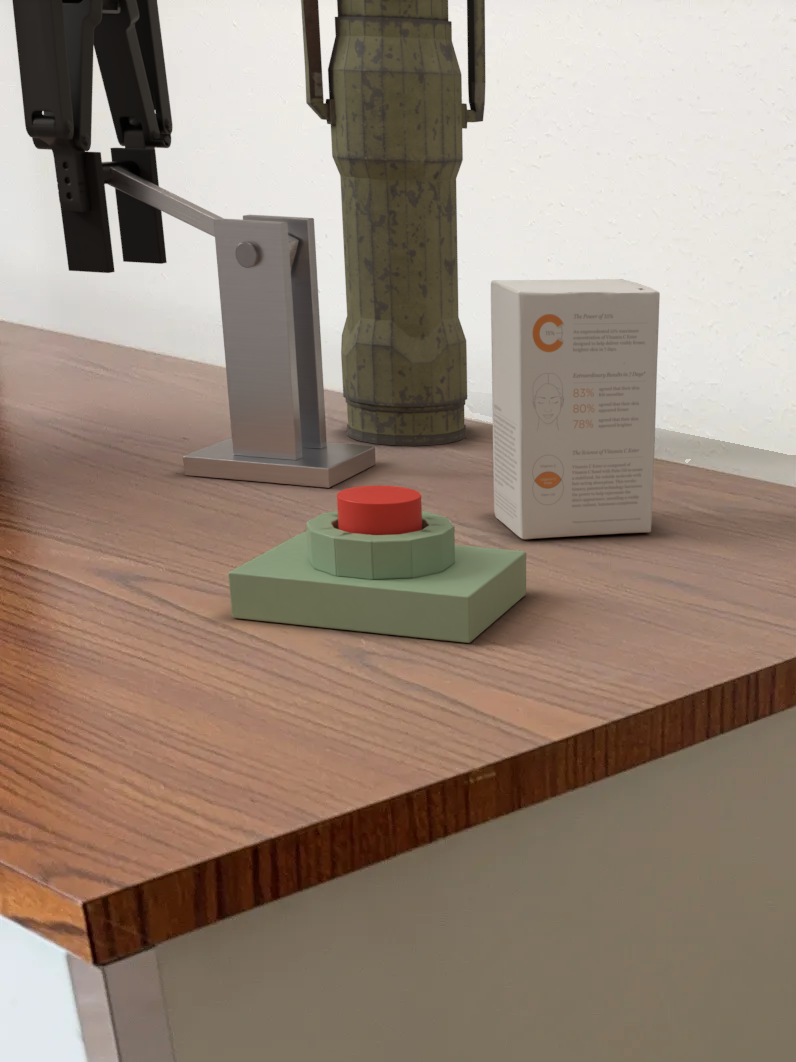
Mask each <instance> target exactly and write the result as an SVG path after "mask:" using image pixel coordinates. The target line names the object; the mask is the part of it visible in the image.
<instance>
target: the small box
mask: <svg viewBox="0 0 796 1062" xmlns="http://www.w3.org/2000/svg"><path fill="white" fill-rule="evenodd" d="M660 295H661V294H660V292H659V291H658V290H657V289H654V288H653V287H649V286H647V285H643V284H641V283H638V282H634V281H631V280H627V279H623V278H615V279H613V278H612V279H610V278H606V279H605V278H603V279H602V278H601V279H599V278H598V279H597V278H596V279H494V280H493V279H492V280H491V281H490V329H491V330H490V332H491V333H490V334H491V336H490V337H491V339H490V340H491V403H492V404H491V405H492V406H491V407H492V408H491V409H492V410H491V411H492V463H493V466H492V467H493V513H494V516H495V518H496V519H498V520H499V521H500V522H501V523H502V524H503V525H504V526H506V527H507V528H508V529H509V530H510V531H512V532H513V533H514V534H515V535H516V536H517V537H519V538H520V539H521V540H533V539H550V538H565V537H580V536H581V537H582V536H598V535H618V534H619V535H620V534H639V533H641V534H642V533H651V532H652V521H653V494H654V492H653V491H654V476H655V475H654V472H655V471H654V470H655V447H656V444H655V443H656V414H657V413H656V411H657V410H656V409H657V378H658V355H659V354H658V352H659V351H658V350H659V327H660V325H659V324H660V297H661V296H660Z"/></svg>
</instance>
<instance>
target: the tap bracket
mask: <svg viewBox="0 0 796 1062" xmlns="http://www.w3.org/2000/svg"><path fill="white" fill-rule="evenodd" d="M222 218H223V217H222ZM222 218H221V219H214V232H215V237H214V243H215V244H214V245H215V254H216V267H217V277H218V279H217V280H218V287H219V288H218V290H219V301H220V303H219V304H220V312H221V313H220V314H221V325H222V337H223V349H224V359H225V371H226V385H227V396H228V406H229V420H230V432H231V437H228V438H226V439H224V440H221V441H218V442H215V443H213V444H210V445H208V446H205V447H202V448H200V449H197V450H196V451H195V450H194V451H193V452H190V453H187V454H186V455H183V456H182V461H183V471H184V476H190V477H201V478H212V479H213V478H214V479H224V480H236V481H247V482H258V483H271V484H280V485H281V484H282V485H291V486H292V485H293V486H303V487H312V488H313V487H315V488H326V489H329V488H331V487H334V486H336V485H338V484H339V483H342V482H343V481H346V480H348V479H350V478H352V477H353V476H355V475H357V474H359V473H361V472H364V471H366V470H367V469H369V468H371V467H374V466H376V464H377V463H376V446H375V445H365V444H355V443H354V444H353V443H343V442H331V441H330V442H328V441H327V439H328V438H327V423H326V422H327V421H326V408H325V405H326V404H325V390H324V388H325V387H324V371H323V370H324V369H323V354H322V337H321V335H322V334H321V319H320V318H321V317H320V316H321V315H320V301H319V284H318V283H319V282H318V281H319V280H318V266H317V250H316V249H317V246H316V231H315V218H314V217H300V216H299V217H298V216H282V215H264V214H263V215H261V214H245V215H242V219H238V218H237V219H236V218H224V219H222ZM288 235H290V236H292V237H294V238H296V239H298V240H299V242H298V246H297V250H296V254H295V258H294V262H293V266H292V269H291V270H290V255H289V239H288Z"/></svg>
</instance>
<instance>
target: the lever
mask: <svg viewBox="0 0 796 1062" xmlns="http://www.w3.org/2000/svg"><path fill="white" fill-rule="evenodd" d="M102 168H103V176H104V185H109V186H110V187H113V188H114V189H115V188H116V189H118V190H120V191H122V192H124V193H126V194H128V195H130V196H132V197H135V198H137V199H139V200H141V201H143V202H145V203H147V204H149V205H151V206H153V207H155V208H157V209H159V210H161V212H162V213H165V214H167V215H169V216H171V217H173V218H175V219H177V220H179V221H181V222H183V223H186V224H188V225H189V226H192V227H193V228H196V229H197V230H199V231H201V232H203V233H206V234H208V235H209V236H212V237H214V238H215V232H214V219H221V218H222V219H225V218H224V217H222V216H220V215H217V214H215V213H213V212H211V211H210V210H208V209H205V208H204V207H202V206H199V205H198V204H195V203H193V202H191V201H189V200H187V199H186V198H183V197H181V196H179V195H177V194H175V193H173V192H171V191H169V190H167V189H165V188H163V187H161V186H160V185H159V186H157V185H155V184H153V183H151V182H149V181H147V180H145V179H143V178H141V177H140V169H139V166H138V165H137V164H136V163H135V162H134V161H131V160H128V161H112V160H111V161H102ZM288 239H289V255H290V270H291V269H292V266H293V262H294V258H295V254H296V250H297V246H298V242H299V240H298V239H296V238H294V237H292V236H290V235H288Z"/></svg>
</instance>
